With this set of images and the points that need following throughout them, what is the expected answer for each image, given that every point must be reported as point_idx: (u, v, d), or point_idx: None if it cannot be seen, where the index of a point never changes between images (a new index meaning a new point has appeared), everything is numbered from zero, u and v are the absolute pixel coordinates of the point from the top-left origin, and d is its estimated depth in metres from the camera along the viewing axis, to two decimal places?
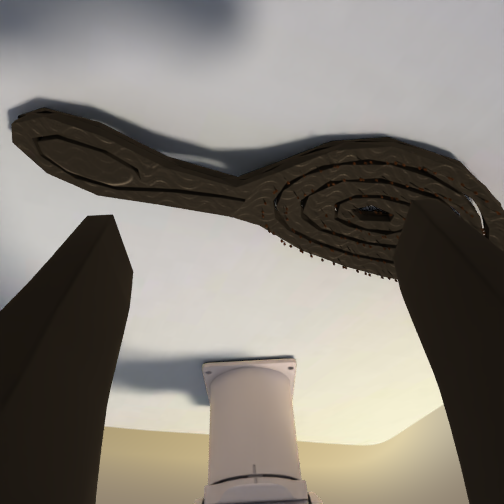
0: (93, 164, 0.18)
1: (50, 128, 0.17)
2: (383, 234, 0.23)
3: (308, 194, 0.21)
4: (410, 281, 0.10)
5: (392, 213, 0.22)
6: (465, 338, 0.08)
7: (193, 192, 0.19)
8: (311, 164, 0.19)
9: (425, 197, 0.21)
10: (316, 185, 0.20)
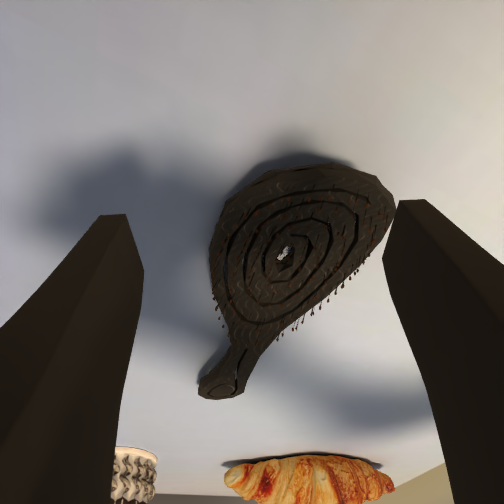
0: (221, 391, 0.31)
1: (203, 394, 0.32)
2: None
3: (256, 302, 0.24)
4: (398, 281, 0.10)
5: (285, 246, 0.21)
6: (450, 339, 0.08)
7: (238, 367, 0.28)
8: (224, 306, 0.24)
9: (262, 231, 0.20)
10: (247, 299, 0.24)
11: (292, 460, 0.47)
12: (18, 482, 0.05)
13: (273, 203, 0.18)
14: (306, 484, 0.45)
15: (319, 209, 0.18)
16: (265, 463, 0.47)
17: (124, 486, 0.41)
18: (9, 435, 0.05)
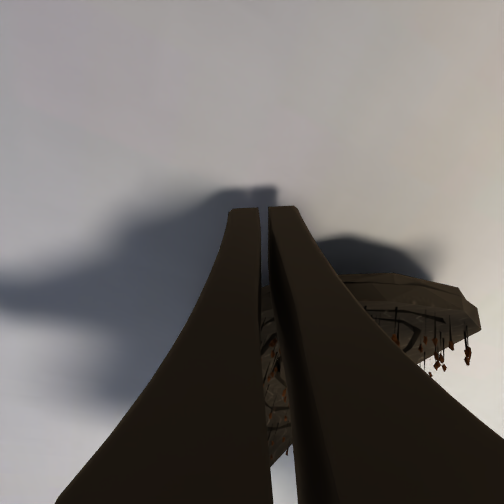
0: None
1: None
2: None
3: (267, 406, 0.19)
4: (272, 288, 0.10)
5: None
6: (290, 348, 0.08)
7: None
8: None
9: None
10: None
11: None
12: None
13: None
14: None
15: None
16: None
17: None
18: (264, 420, 0.05)
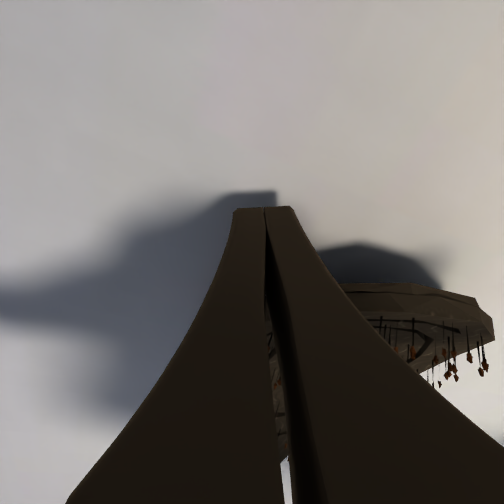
0: None
1: None
2: None
3: None
4: (267, 288, 0.10)
5: None
6: (285, 348, 0.08)
7: None
8: None
9: None
10: None
11: None
12: None
13: None
14: None
15: None
16: None
17: None
18: (273, 420, 0.05)
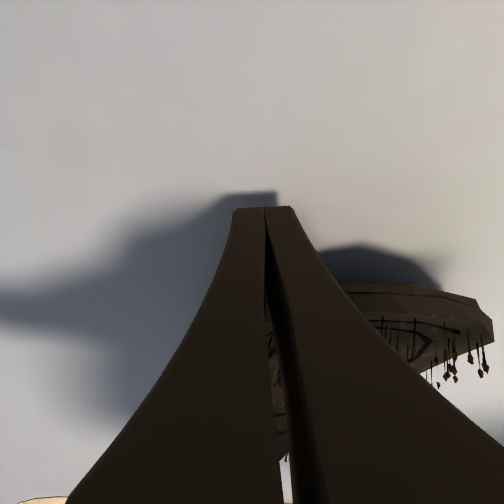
0: None
1: None
2: None
3: None
4: (268, 288, 0.10)
5: None
6: (285, 348, 0.08)
7: None
8: None
9: None
10: None
11: None
12: None
13: None
14: None
15: None
16: None
17: None
18: (272, 420, 0.05)
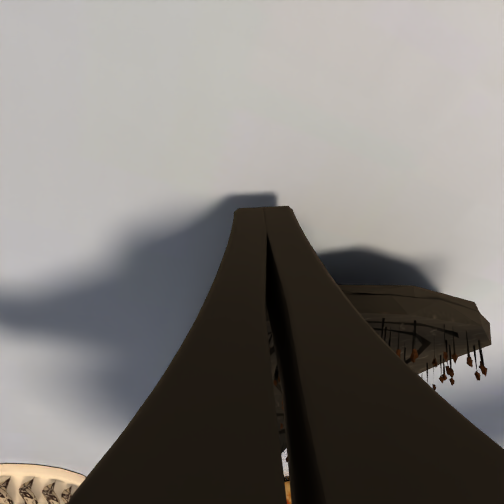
0: None
1: None
2: None
3: None
4: (266, 289, 0.10)
5: None
6: (284, 348, 0.08)
7: None
8: None
9: None
10: None
11: None
12: None
13: None
14: None
15: None
16: None
17: None
18: (275, 420, 0.05)
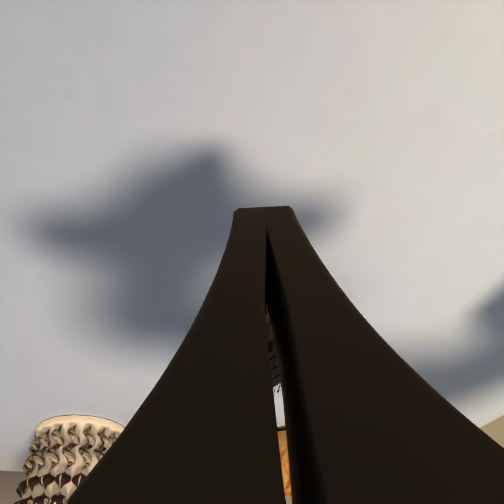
0: None
1: None
2: None
3: None
4: (267, 289, 0.10)
5: None
6: (284, 348, 0.08)
7: None
8: None
9: None
10: None
11: (285, 433, 0.40)
12: None
13: None
14: None
15: None
16: None
17: (83, 460, 0.34)
18: (274, 420, 0.05)
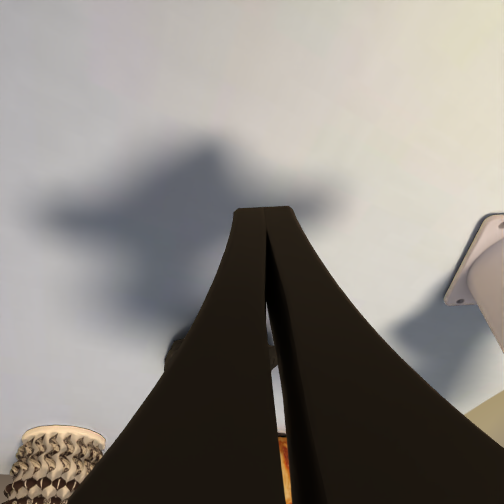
0: None
1: None
2: None
3: None
4: (266, 288, 0.10)
5: None
6: (284, 348, 0.08)
7: None
8: None
9: None
10: None
11: None
12: None
13: None
14: None
15: None
16: None
17: (63, 466, 0.39)
18: (274, 420, 0.05)
